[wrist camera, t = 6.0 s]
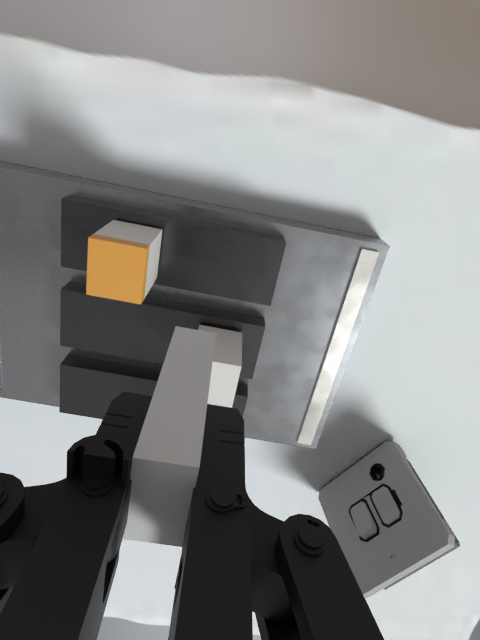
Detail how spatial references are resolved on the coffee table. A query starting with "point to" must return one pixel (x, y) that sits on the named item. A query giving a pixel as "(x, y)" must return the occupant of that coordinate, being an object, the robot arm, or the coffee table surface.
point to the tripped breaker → (123, 261)
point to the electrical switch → (385, 519)
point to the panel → (177, 301)
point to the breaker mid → (224, 366)
